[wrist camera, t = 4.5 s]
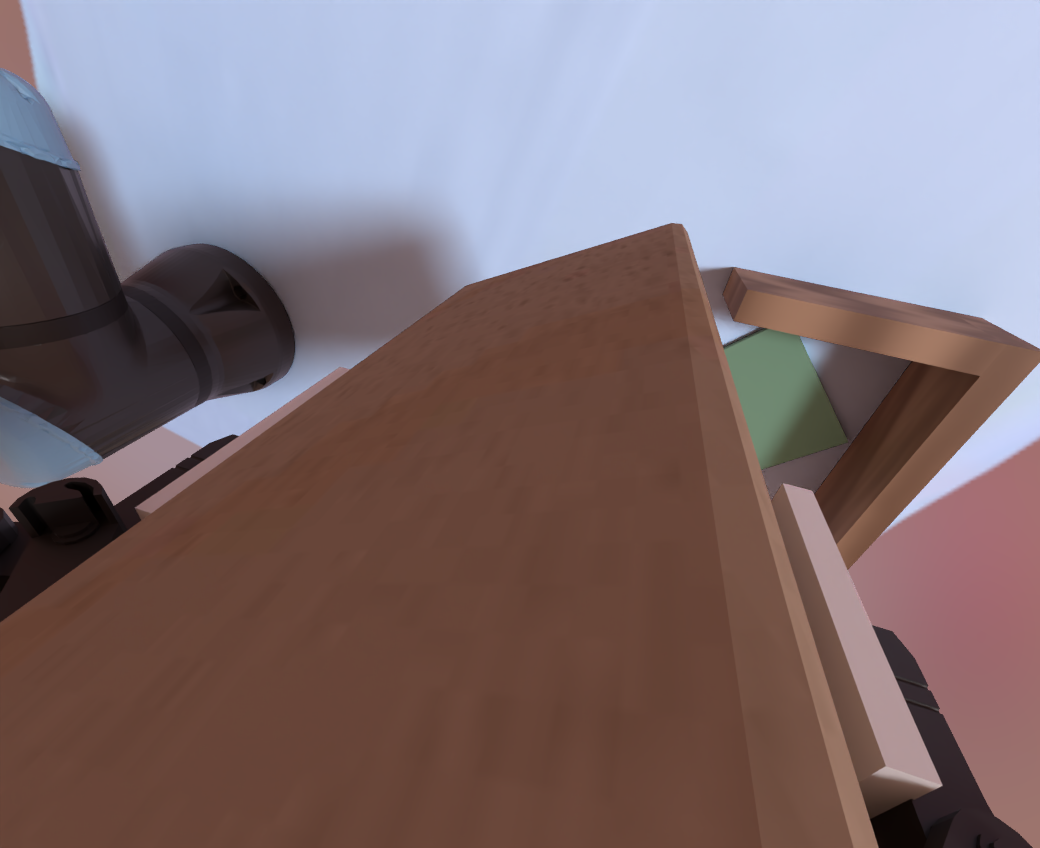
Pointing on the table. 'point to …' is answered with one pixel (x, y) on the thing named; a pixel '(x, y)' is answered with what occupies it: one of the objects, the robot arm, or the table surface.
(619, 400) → the wooden block
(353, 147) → the table surface
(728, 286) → the wooden corner bracket
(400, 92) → the table surface
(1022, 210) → the table surface
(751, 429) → the pad
